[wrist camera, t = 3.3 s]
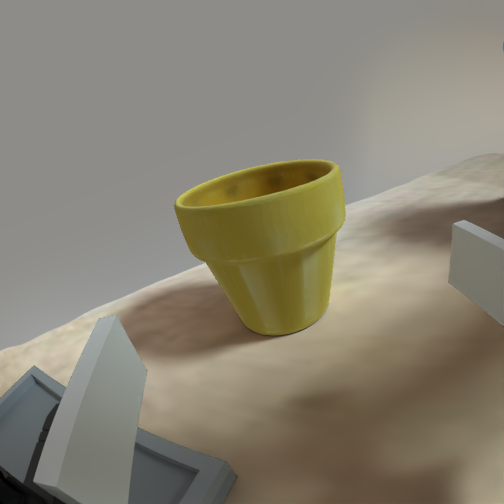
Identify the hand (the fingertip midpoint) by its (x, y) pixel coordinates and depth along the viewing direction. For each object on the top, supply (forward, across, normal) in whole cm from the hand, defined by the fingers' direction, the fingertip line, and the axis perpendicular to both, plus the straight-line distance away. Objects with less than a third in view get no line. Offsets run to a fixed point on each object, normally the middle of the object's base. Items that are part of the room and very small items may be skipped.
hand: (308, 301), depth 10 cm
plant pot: (+10, 0, -7) cm, 12 cm away
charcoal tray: (-7, -17, -7) cm, 20 cm away
